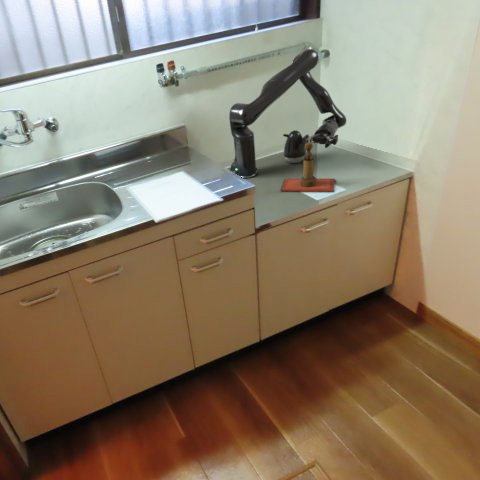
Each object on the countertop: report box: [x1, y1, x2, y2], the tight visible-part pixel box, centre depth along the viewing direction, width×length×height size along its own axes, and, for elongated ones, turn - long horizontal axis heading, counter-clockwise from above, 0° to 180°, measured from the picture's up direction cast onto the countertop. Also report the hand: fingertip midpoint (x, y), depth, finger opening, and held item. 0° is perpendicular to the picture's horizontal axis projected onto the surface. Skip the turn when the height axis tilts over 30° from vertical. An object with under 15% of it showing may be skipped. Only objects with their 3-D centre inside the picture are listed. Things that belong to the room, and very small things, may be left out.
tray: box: [281, 178, 335, 193], centre depth 170 cm, size 20×12×1 cm, turn 67°
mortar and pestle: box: [299, 141, 317, 187], centre depth 166 cm, size 7×6×18 cm
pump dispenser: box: [282, 129, 307, 164], centre depth 192 cm, size 10×10×15 cm
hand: (315, 145), depth 170 cm, fingers open, 8 cm apart
